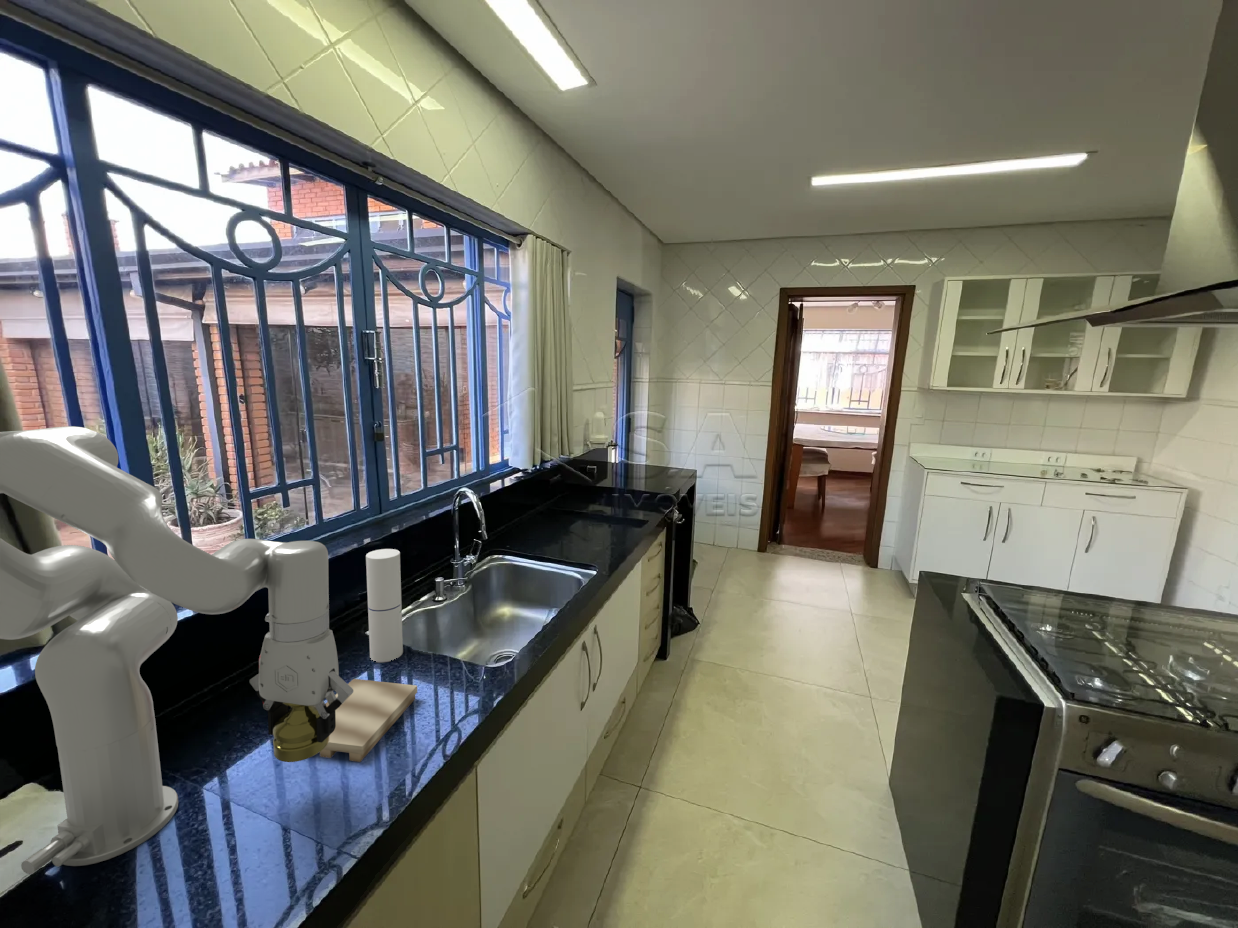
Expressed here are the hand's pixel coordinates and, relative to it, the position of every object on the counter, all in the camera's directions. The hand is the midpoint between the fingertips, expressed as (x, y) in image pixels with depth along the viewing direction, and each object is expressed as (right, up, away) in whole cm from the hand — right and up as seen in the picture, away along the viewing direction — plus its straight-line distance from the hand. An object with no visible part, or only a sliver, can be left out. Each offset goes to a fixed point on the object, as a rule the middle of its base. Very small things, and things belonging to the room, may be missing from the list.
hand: (302, 731), depth 77 cm
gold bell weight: (0, -3, 0) cm, 3 cm away
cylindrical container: (-7, -4, +43) cm, 43 cm away
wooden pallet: (-1, -8, +18) cm, 20 cm away
